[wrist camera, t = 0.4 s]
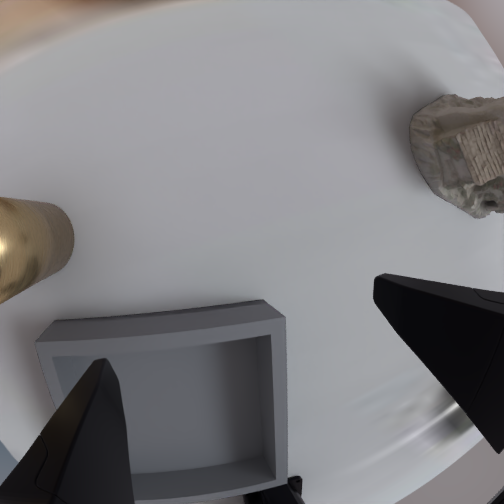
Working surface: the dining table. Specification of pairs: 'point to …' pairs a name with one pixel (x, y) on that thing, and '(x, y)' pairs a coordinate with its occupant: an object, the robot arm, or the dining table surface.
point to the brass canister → (31, 243)
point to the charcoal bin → (187, 395)
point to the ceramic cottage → (462, 151)
